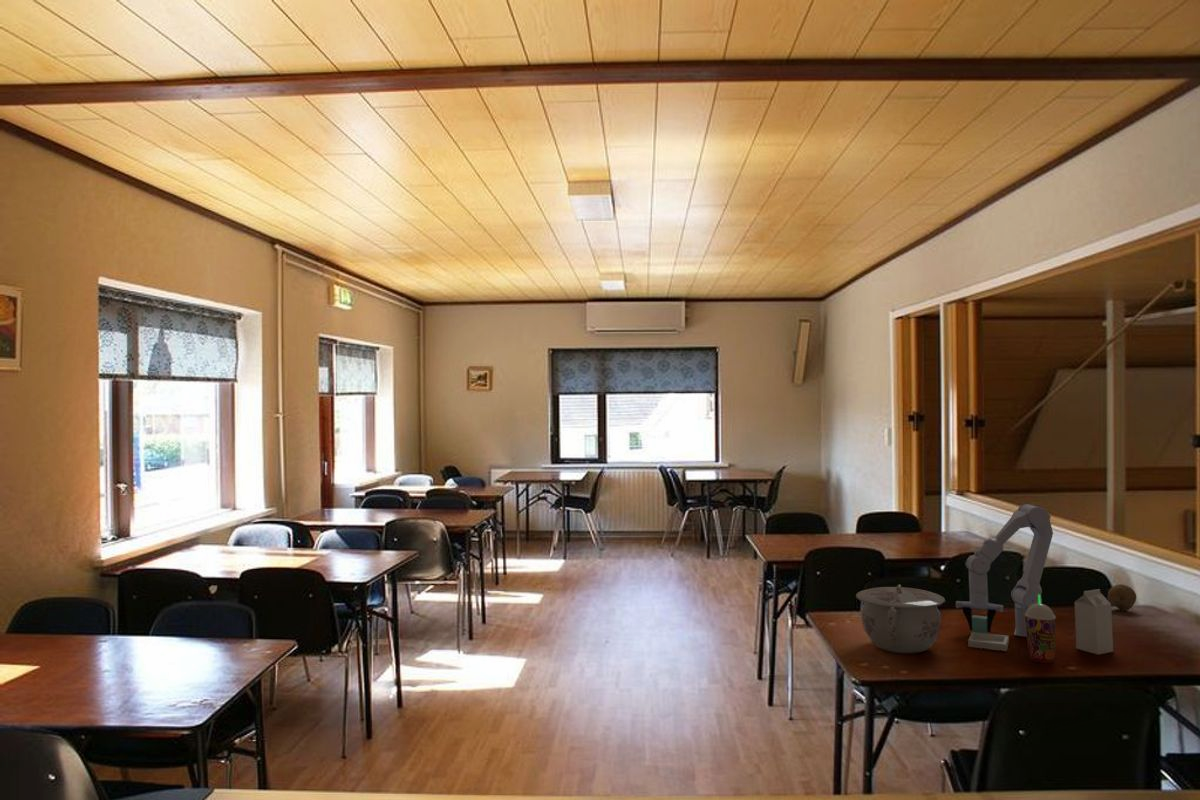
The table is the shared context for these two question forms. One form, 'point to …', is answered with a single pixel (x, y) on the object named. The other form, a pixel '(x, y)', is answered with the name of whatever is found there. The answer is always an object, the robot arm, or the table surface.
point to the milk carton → (1093, 623)
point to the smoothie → (1040, 632)
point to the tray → (988, 641)
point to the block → (980, 624)
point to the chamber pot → (901, 618)
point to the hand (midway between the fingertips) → (980, 630)
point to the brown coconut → (1122, 597)
